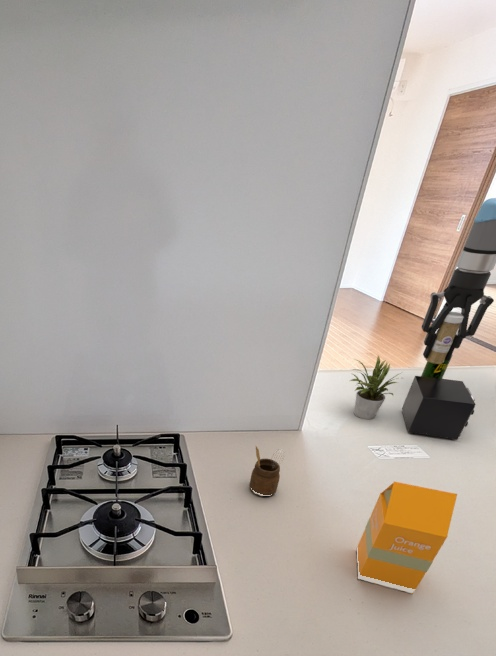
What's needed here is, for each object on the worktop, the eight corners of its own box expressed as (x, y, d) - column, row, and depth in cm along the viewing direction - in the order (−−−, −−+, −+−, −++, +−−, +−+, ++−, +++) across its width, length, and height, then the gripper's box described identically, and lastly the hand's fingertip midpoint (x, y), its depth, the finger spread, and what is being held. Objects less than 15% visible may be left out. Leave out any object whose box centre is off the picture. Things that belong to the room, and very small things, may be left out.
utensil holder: (280, 497, 97) (291, 453, 90) (252, 499, 96) (261, 455, 89) (270, 480, 101) (280, 437, 94) (244, 482, 101) (252, 439, 94)
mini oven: (450, 417, 121) (468, 381, 115) (462, 442, 111) (482, 405, 105) (400, 410, 125) (415, 375, 118) (407, 434, 115) (423, 397, 109)
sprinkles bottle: (431, 364, 120) (452, 316, 113) (421, 358, 124) (440, 311, 116) (447, 364, 121) (469, 316, 113) (437, 357, 124) (457, 310, 117)
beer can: (413, 383, 138) (428, 347, 131) (428, 381, 138) (443, 346, 131) (426, 391, 133) (442, 354, 126) (441, 389, 134) (458, 352, 127)
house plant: (332, 397, 132) (347, 346, 123) (382, 402, 129) (402, 350, 119) (338, 422, 121) (355, 367, 111) (394, 428, 117) (416, 372, 108)
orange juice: (355, 549, 84) (390, 467, 72) (408, 562, 81) (453, 479, 69) (357, 580, 78) (395, 496, 66) (413, 595, 75) (464, 511, 64)
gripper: (511, 268, 108) (469, 356, 122) (430, 264, 114) (398, 348, 127) (521, 275, 103) (476, 366, 116) (435, 271, 108) (402, 358, 122)
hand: (435, 357), depth 122 cm, fingers closed on sprinkles bottle, 4 cm apart
